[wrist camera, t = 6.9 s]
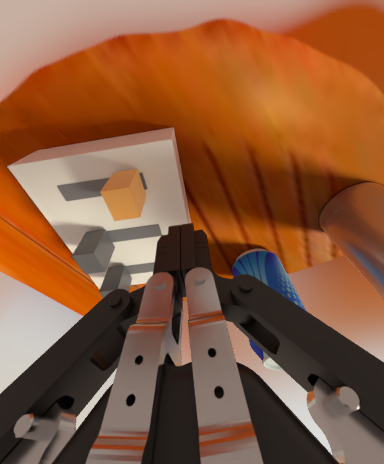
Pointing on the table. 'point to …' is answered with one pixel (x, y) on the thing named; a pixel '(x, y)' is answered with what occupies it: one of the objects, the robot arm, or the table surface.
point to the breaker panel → (92, 203)
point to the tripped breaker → (124, 195)
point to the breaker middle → (94, 252)
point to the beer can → (273, 275)
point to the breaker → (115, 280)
